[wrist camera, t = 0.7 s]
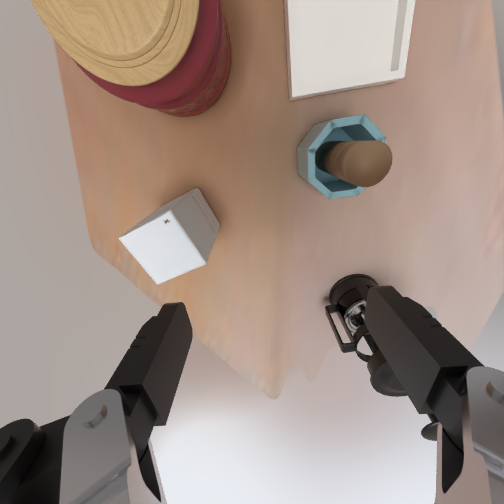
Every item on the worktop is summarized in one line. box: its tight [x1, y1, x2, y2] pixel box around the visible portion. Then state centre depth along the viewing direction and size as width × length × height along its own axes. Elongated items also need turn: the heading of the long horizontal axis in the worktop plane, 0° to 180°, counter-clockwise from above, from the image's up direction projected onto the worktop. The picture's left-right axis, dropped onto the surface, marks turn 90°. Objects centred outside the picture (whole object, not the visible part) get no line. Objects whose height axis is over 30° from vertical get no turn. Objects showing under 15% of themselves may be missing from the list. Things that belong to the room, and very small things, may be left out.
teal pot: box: [297, 114, 386, 199], centre depth 28 cm, size 9×9×7 cm
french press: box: [325, 274, 439, 441], centre depth 32 cm, size 12×9×23 cm
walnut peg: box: [315, 140, 392, 187], centre depth 25 cm, size 4×4×12 cm
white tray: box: [284, 0, 415, 101], centre depth 23 cm, size 15×13×2 cm
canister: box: [31, 0, 231, 117], centre depth 18 cm, size 13×13×18 cm
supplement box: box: [119, 187, 220, 284], centre depth 30 cm, size 7×7×13 cm
